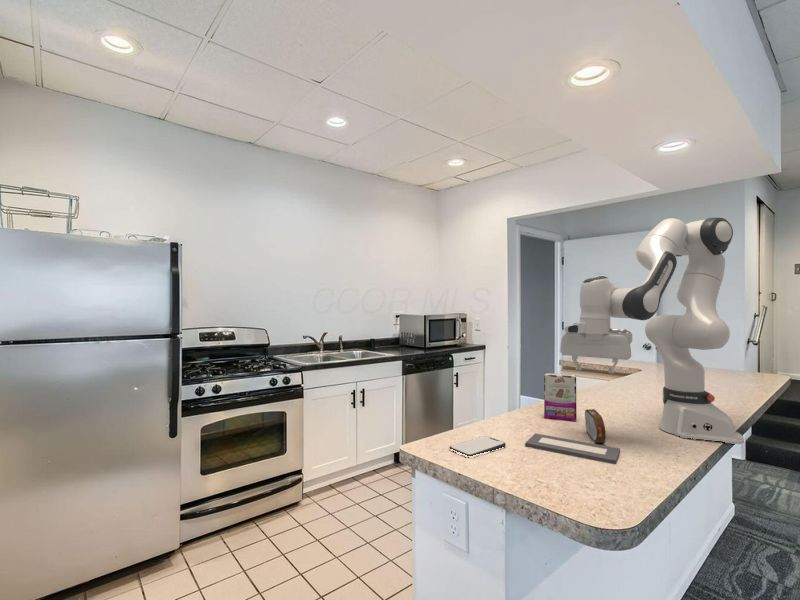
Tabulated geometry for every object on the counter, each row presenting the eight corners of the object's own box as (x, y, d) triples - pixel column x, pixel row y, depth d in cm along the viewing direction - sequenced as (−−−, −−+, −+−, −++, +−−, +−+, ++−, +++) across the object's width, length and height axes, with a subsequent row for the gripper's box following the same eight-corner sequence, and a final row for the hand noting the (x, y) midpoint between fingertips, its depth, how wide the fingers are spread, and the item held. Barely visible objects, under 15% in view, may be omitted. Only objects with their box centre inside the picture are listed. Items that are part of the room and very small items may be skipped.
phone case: (469, 461, 111) (507, 448, 120) (469, 455, 111) (507, 442, 120) (447, 452, 118) (484, 440, 128) (447, 446, 118) (484, 435, 128)
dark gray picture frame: (620, 452, 117) (620, 448, 117) (616, 464, 108) (616, 460, 108) (535, 436, 130) (535, 433, 130) (525, 446, 121) (525, 442, 121)
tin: (606, 447, 121) (606, 418, 121) (595, 446, 122) (595, 418, 122) (593, 431, 136) (593, 406, 136) (583, 431, 137) (583, 405, 137)
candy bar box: (576, 418, 152) (576, 374, 152) (576, 422, 147) (576, 376, 147) (544, 415, 156) (544, 372, 156) (543, 418, 151) (544, 374, 151)
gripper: (633, 329, 126) (632, 373, 126) (563, 326, 138) (563, 367, 137) (631, 329, 121) (631, 376, 121) (559, 327, 132) (558, 369, 132)
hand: (594, 371), depth 129 cm, fingers open, 8 cm apart
